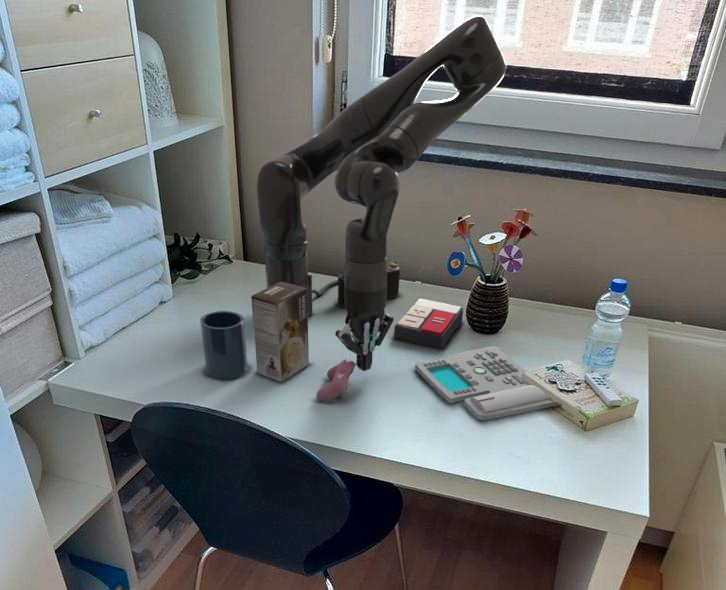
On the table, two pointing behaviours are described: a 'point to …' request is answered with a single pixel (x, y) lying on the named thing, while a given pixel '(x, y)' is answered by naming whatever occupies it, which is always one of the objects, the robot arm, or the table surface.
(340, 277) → the camera
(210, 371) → the pen cup
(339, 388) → the video game controller
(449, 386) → the office telephone
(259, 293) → the coffee box
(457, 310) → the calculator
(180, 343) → the table surface
